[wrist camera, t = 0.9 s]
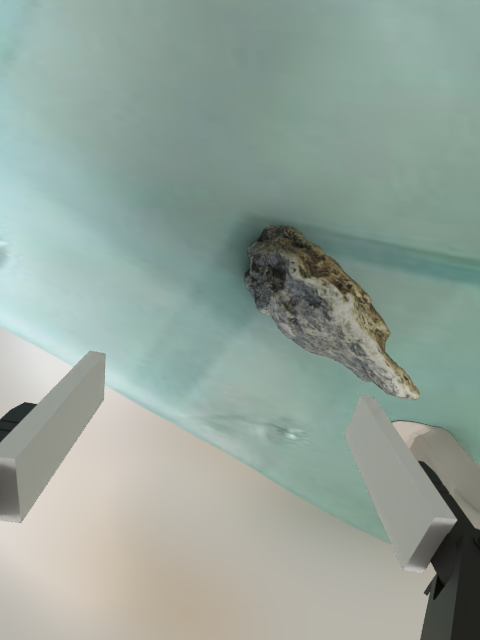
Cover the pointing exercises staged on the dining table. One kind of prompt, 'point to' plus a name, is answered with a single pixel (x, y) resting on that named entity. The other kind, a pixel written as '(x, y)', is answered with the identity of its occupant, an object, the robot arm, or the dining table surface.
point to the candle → (446, 463)
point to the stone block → (322, 307)
